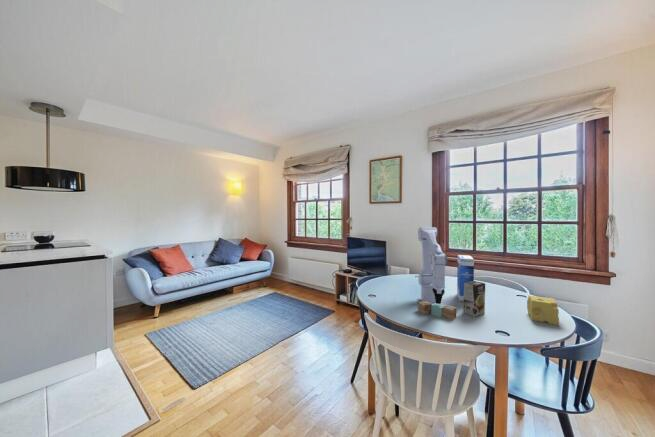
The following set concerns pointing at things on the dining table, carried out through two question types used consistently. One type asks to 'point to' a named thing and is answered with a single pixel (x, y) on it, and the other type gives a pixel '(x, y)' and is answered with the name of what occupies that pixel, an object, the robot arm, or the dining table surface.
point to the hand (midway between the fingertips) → (438, 303)
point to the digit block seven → (449, 312)
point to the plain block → (437, 309)
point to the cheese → (543, 309)
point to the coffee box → (474, 298)
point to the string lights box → (464, 273)
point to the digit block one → (424, 307)
